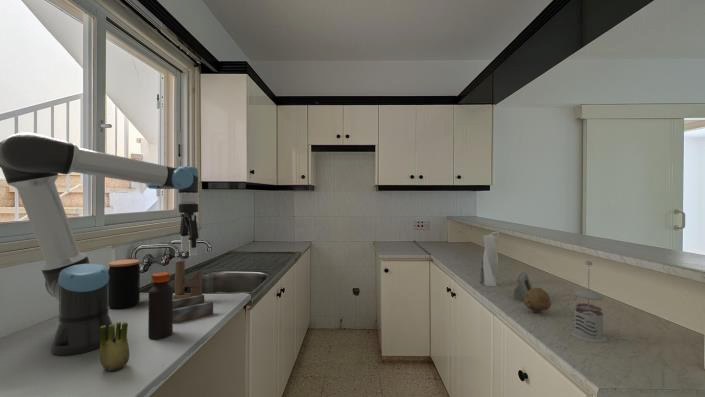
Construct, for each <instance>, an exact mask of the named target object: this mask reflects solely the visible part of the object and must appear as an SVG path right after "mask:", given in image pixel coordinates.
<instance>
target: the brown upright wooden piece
mask: <svg viewBox="0 0 705 397" xmlns="http://www.w3.org/2000/svg"><path fill="white" fill-rule="evenodd" d="M185 263H186V261H185V259H177V260H176V259H175V261H174V264H175V265H174V267H175V268H174V294H173V300H176V299H181V298H187V297H192V296H198V295H203V268H200V269H199V270H197V272H195V274H193V275H192V276H191V277H190V278H189V280H187V281H186V280H185V277H186V276H185V275H186V274H185V271H186V269H185V268H186V266H185V265H186V264H185ZM185 281H186V282H185ZM185 288H190V292H185Z"/></svg>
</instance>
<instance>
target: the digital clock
mask: <svg viewBox="0 0 705 397" xmlns="http://www.w3.org/2000/svg"><path fill="white" fill-rule="evenodd" d="M529 278H530V277H529V276H528V274H527V272H525V271H523V272H521V273H520V274H519V276H517V278H516V282H517V285H516V286H515V288H514V290H513V299H514V300H518V301H523V302H524V300H525V297H526V294H527V292H528V291H529V290H530V289H531V288H533V286H532V284H531V282H530V279H529Z"/></svg>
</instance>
